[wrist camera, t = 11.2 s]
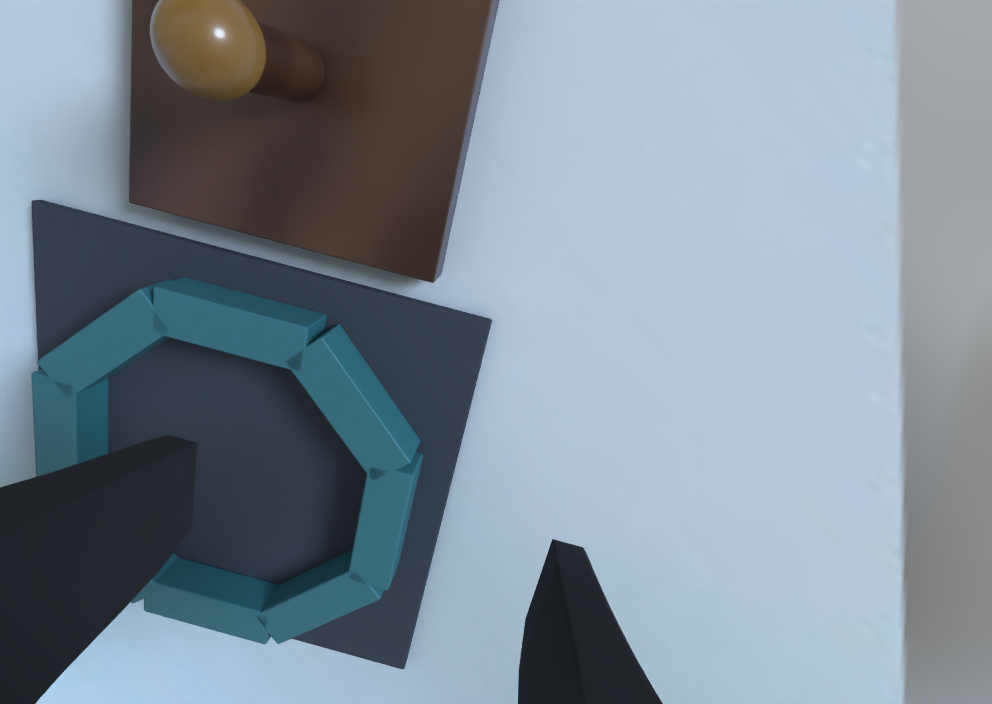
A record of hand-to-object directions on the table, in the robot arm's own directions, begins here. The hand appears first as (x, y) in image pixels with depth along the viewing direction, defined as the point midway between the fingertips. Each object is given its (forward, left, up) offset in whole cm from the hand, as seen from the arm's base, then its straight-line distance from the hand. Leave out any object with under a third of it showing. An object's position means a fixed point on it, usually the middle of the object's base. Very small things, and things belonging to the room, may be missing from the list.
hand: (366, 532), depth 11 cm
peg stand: (-6, +8, -9) cm, 14 cm away
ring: (-7, -6, -8) cm, 12 cm away
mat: (-7, -6, -9) cm, 13 cm away
